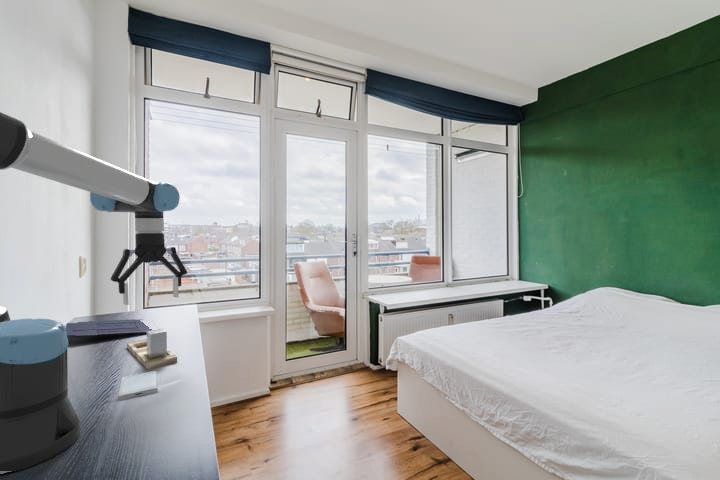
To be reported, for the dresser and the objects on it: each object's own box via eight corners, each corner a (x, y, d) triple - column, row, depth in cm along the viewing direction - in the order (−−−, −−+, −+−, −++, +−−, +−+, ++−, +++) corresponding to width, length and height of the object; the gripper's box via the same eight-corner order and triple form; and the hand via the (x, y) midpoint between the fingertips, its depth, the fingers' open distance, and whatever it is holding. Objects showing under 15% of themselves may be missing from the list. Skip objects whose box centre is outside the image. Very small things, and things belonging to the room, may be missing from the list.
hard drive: (121, 377, 91) (118, 395, 80) (156, 370, 95) (157, 387, 85) (121, 383, 91) (118, 402, 80) (156, 376, 95) (157, 393, 85)
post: (166, 360, 104) (166, 331, 104) (150, 363, 101) (150, 334, 101) (162, 356, 107) (162, 328, 107) (146, 360, 104) (146, 331, 104)
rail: (177, 363, 103) (177, 356, 103) (147, 371, 97) (147, 363, 97) (153, 343, 121) (153, 337, 121) (127, 349, 115) (127, 343, 115)
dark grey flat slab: (66, 329, 135) (67, 320, 135) (151, 325, 154) (152, 317, 154) (61, 344, 116) (62, 334, 116) (159, 338, 135) (161, 329, 135)
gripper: (188, 231, 114) (190, 292, 115) (97, 233, 96) (99, 305, 97) (196, 231, 109) (198, 295, 110) (101, 233, 91) (104, 309, 92)
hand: (152, 300), depth 104 cm, fingers open, 13 cm apart
